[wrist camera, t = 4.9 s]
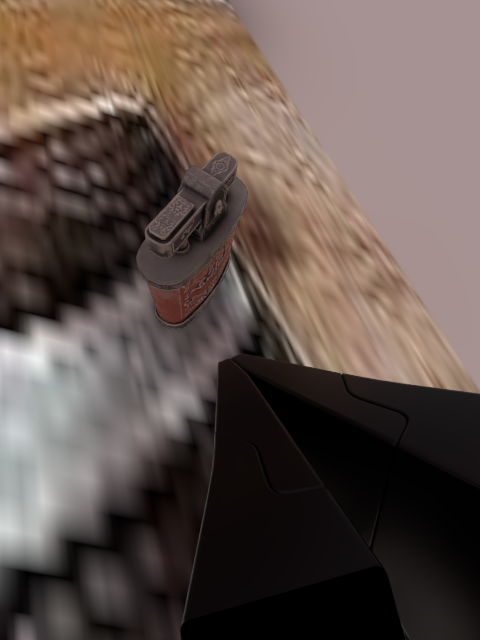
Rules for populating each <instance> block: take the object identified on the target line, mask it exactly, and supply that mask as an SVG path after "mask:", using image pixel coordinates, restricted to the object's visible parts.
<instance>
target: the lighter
mask: <svg viewBox="0 0 480 640" xmlns="http://www.w3.org/2000/svg"><path fill="white" fill-rule="evenodd" d="M237 166H238V161H237V159H236V158H234V157H233V156H232V155H230V154H228V153H226V152H222V151H221V152H218V153H216V154H215V155H214V156H213V157H212V158H211V159H210V160H209V161H208V162H207V163H206V164H205V165H204V167H203V168H202V169H200V168H198V167H197V166H195V165H193V166H191V167H190V168H189V169H188V170H187V171H186V172H185V174H184V176H183V178H182V181H181V185H180V187H179V189H178V193H177V195H176V196H175V197H174V198H173V199H172V200H171V201H170V203H169V204H168V205H167V206H166V207H165V208H164V209H163V210H162V211H161V212H160V213H159V214H158V215H157V216H156V217H155V218H154V219H153V220H152V222H151V223H150V224H149V225H148V226H147V227H146V229H145V236H146V238H145V240H144V242H143V243H142V245H141V247H140V248H139V250H138V253H137V256H136V261H137V266H138V269H139V272H140V274H141V275H142V277H143V279H144V280H145V281H146V282H147V283H148V286H149V288H150V291H151V294H152V297H153V300H154V303H155V307H154V309H155V314H156V317H157V319H158V320H159V322H160V323H161V324H162V325H164V326H165V327H168V328H170V329H180V328H183V327H184V326H186V325H187V324H188V323H189V322H190V321H191V320H192V319H193V318H194V317H196V316H197V315H198V314H199V313H200V312H201V311H202V309H203V308H204V307H205V306H206V305H207V303H208V302H209V301H210V300H211V298H212V297H213V296H214V294H215V292H216V291H217V289H218V287H219V286H220V284H221V282H222V281H223V278H224V276H225V273H226V271H227V269H228V266H229V263H230V259H231V254H230V249H231V245H232V241H233V237H234V233H235V229H236V226H237V223H238V221H239V219H240V217H241V214H242V212H243V210H244V207H245V204H246V200H247V195H248V192H247V189H246V186H245V185H244V184H243V182H242V181H241V180H240V179H238V178H237V177H236V171H237Z"/></svg>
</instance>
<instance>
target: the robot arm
mask: <svg viewBox="0 0 480 640" xmlns="http://www.w3.org/2000/svg"><path fill="white" fill-rule="evenodd" d="M401 624H402V626H403V628H404V630H405V631H406V633H407V635H408V637H409V639H410V640H480V394H478V393H470V392H462V391H455V390H447V389H440V388H432V387H425V386H417V385H410V384H403V383H396V382H389V381H382V380H376V379H371V378H365V377H360V376H354V375H349V374H344V373H343V374H342V375H341V374H340V373H337V372H332V371H327V370H322V369H317V368H312V367H307V366H302V365H297V364H292V363H287V362H282V361H277V360H272V359H267V358H262V357H257V356H252V355H247V354H239V355H237V356H234V357H232V358H231V359H226V360H224V361H221V362H219V363H218V373H217V396H216V419H215V435H214V452H213V463H212V471H211V477H210V483H209V489H208V494H207V499H206V504H205V509H204V514H203V519H202V524H201V529H200V534H199V539H198V544H197V549H196V554H195V559H194V564H193V569H192V574H191V579H190V584H189V589H188V594H187V599H186V604H185V609H184V614H183V619H182V624H181V639H182V640H405V637H404V633H403V629H402V626H401Z"/></svg>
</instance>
